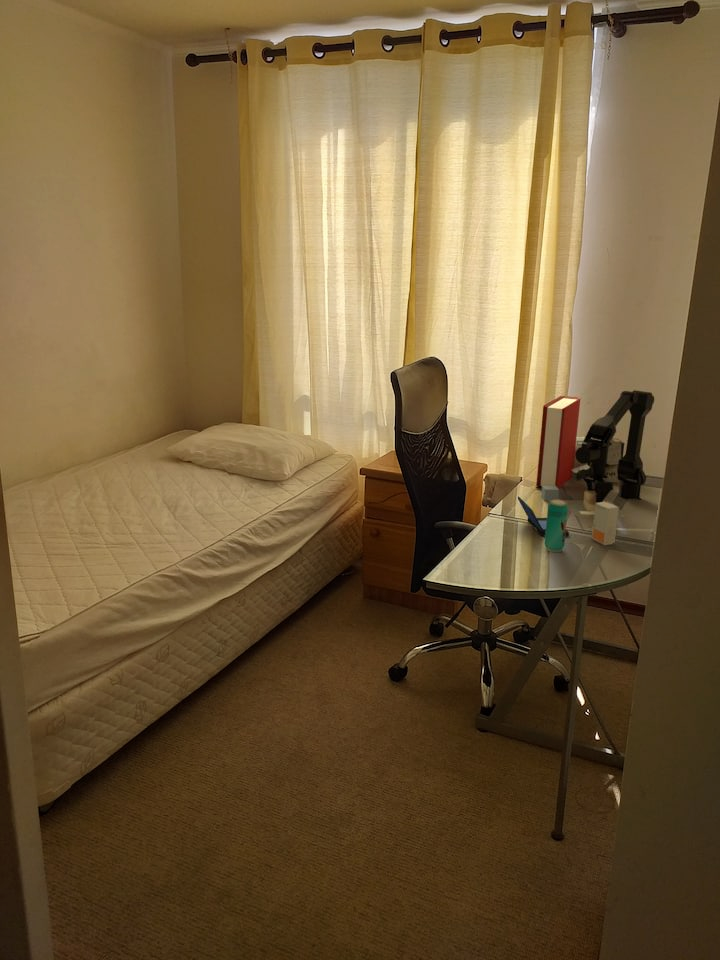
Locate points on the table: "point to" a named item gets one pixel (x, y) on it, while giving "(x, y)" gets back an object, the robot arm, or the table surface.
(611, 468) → the coffee box
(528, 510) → the handheld game console
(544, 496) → the grey cube
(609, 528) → the skincare box
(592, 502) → the birch block
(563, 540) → the beverage can
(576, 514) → the letter board
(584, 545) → the table surface
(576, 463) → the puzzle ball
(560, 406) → the book
